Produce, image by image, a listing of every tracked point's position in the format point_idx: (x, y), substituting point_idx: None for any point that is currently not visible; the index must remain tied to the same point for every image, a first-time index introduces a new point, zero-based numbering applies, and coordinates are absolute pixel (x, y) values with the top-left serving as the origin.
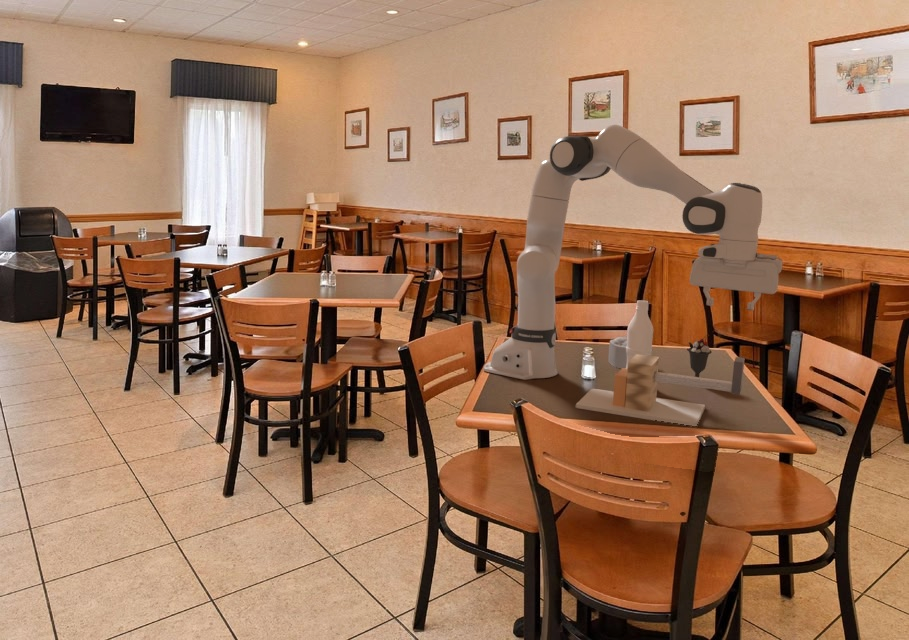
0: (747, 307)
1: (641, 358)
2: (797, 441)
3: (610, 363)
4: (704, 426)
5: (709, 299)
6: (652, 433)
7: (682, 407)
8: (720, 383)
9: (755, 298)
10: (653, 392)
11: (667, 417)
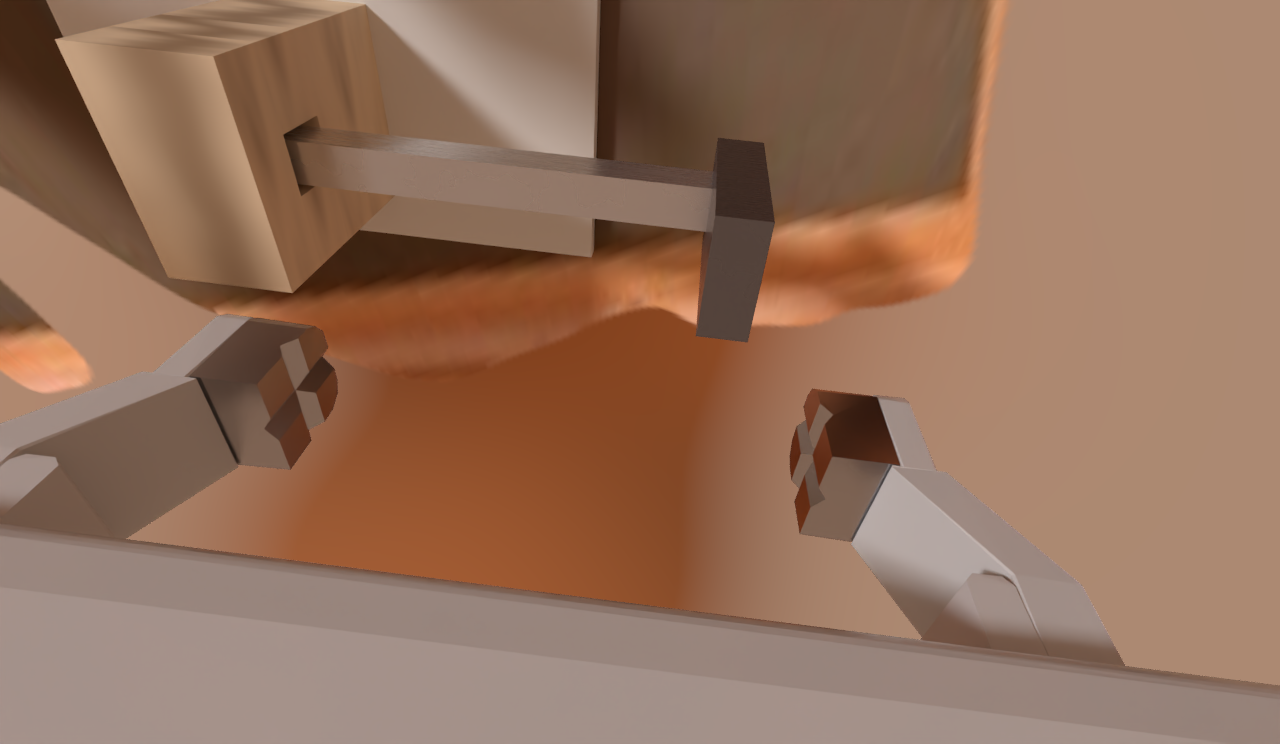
0: (795, 483)
1: (157, 155)
2: (943, 270)
3: None
4: (619, 230)
5: (246, 455)
6: (477, 348)
7: (503, 64)
8: (646, 222)
9: (921, 631)
10: (353, 129)
11: (481, 231)
